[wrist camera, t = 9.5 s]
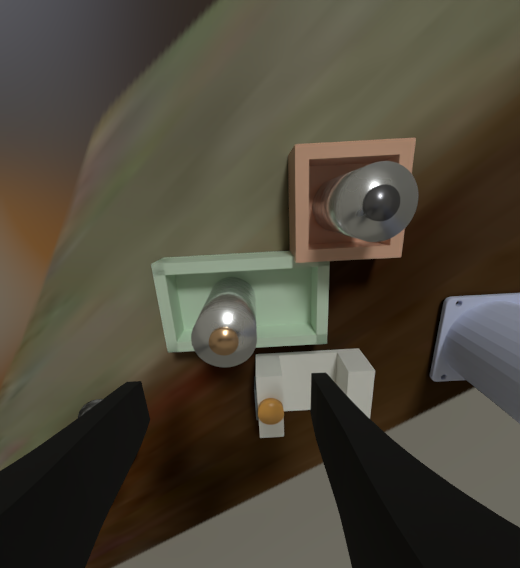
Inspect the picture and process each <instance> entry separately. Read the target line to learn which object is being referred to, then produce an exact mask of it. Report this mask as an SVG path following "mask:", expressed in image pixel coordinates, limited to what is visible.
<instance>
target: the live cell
mask: <svg viewBox="0 0 520 568" xmlns="http://www.w3.org/2000/svg"><path fill="white" fill-rule="evenodd" d="M191 342H192V346H193V349H194V350H195V352H196V354H197V355H198V356H199V357H200V358H201V359H202V360H203V361H205V362H207V363H209V364H211V365H213V366H217V367H233V366H236V365H239V364H241V363H243V362H245V361H246V360H247V359H248V358H249V357H250V356H251V355H252V354H253V352H254V350H255V348H256V344H257V326H256V297H255V292H254V290H253V288H252V287H251V285H250V284H249V283H247V282H246V281H244V280H243V279H240V278H236V277H228V278H224V279H222V280H220V281H218V282H217V283H216V284H215V285H214V286H213V288H212V290H211V292H210V294H209V296H208V298H207V300H206V302H205V304H204V306H203V308H202V310H201V312H200V315H199V317H198V319H197V321H196V323H195V325H194V327H193V330H192V333H191Z"/></svg>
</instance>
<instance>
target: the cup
mask: <svg viewBox="0 0 520 568" xmlns="http://www.w3.org/2000/svg"><path fill="white" fill-rule="evenodd" d="M415 142H416V138H401V139H382V140H364V141H346V142H328V143H309V144H295V145H294V147H293V148H292V150H291V152H290V153H289V155H288V180H289V244H290V252H291V253H292V254H293V255H294V261H295V262H296V263H305V262H323V261H341V260H359V259H377V258H395V257H401V254H402V246H403V238H404V230H405V228H404V229H403V230H402V231H401V232H400V233H399V234H397V235H396V236H394V237H392V238H390V239H388V240H385V241H381V242H368V241H364V240H360V239H357V238H353V237H350V236H347V235H343V234H340V233H336V232H333V231H329V230H326V229H324V228H323V227H321V226H320V225H319V224H318V223H317V221H316V220H315V218H314V215H313V210H312V204H313V199H314V196H315V194H316V192H317V190H318V189H319V188H320V187H321V186H322V185H323V184H324V183H325V182H327V181H329V180H331V179H333V178H336V177H339V176H341V175H344V174H346V173H349V172H351V171H354V170H356V169H359V168H361V167H364V166H367V165H369V164H372V163H375V162H379V161H392V162H396V163H399V164H400V165H402V166H404V167H405V168H407V169H408V170H409V171H410V172H411V174H412V166H413V158H414V150H415Z"/></svg>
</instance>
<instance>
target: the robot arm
mask: <svg viewBox="0 0 520 568" xmlns="http://www.w3.org/2000/svg"><path fill="white" fill-rule="evenodd" d="M457 301H458V303H457V304H456V302H457ZM430 378H431V379H432V380H433V381H435V382H440V381H458V380H467V381H468V382H469V383H470V384H472V385H473V386H474V387H475V388H477V389H478V390H479V391H480V392H481V393H483V394H484V395H485V396H486V397H488V398H489V399H490V400H492V401H493V402H494V403H495V404H496V405H497V406H499V407H500V408H501V409H502V410H504V411H505V412H506V413H508V414H509V415H510V416H511V417H512V418H513V419H515V420H516V421H517V422H518V423H520V293H507V294H489V295H471V296H453V297H448V298H446V299H445V300H444V302H443V307H442V313H441V318H440V323H439V328H438V334H437V339H436V344H435V350H434V355H433V360H432V366H431V371H430ZM310 412H311V417H312V422H313V427H314V432H315V436H316V440H317V443H318V446H319V450H320V453H321V456H322V459H323V462H324V465H325V469H326V472H327V475H328V478H329V481H330V484H331V487H332V490H333V494H334V497H335V500H336V503H337V507H338V511H339V514H340V518H341V522H342V526H343V530H344V534H345V538H346V543H347V547H348V552H349V556H350V560H351V564H352V568H520V528H519V527H518V526H516V525H514V524H512V523H511V522H509V521H507V520H506V519H504V518H502V517H501V516H499V515H498V514H496V513H494V512H493V511H491V510H490V509H488V508H487V507H485V506H484V505H482V504H480V503H479V502H477V501H476V500H474V499H473V498H471V497H469V496H468V495H466V494H465V493H464V492H462V491H461V490H459V489H458V488H456V487H455V486H453V485H452V484H450V483H449V482H447V481H446V480H445V479H443V478H442V477H440V476H439V475H438V474H436V473H435V472H433V471H432V470H431V469H429V468H428V467H427V466H425V465H424V464H423V463H421V462H420V461H419V460H417V459H416V458H415V457H413V456H412V455H411V454H410V453H408V452H407V451H406V450H405V449H403V448H402V447H401V446H400V445H398V444H397V443H396V442H395V441H394V440H392V439H391V438H390V437H389V436H388V435H387V434H386V433H384V432H383V431H382V430H381V429H380V428H379V427H378V426H377V425H376V424H375V423H374V422H372V421H371V420H370V419H369V418H368V417H367V416H366V415H365V414H364V413H363V412H362V411H361V410H360V409H359V408H358V407H357V406H356V405H355V404H354V403H353V402H352V401H351V400H350V398H349V397H348V396H347V395H346V394H345V393H344V392H343V391H342V390H341V389H340V388H339V386H338V385H337V384H336V383H335V382H334V381H333V380H332V379H331V377H330V376H329V375H328V374H327V373H326V372H325V373H311V411H310ZM149 421H150V417H149V413H148V409H147V404H146V400H145V396H144V391H143V387H142V383H141V381H138V382H126V383H125V384H123V385H122V386H120V387H119V388H118V389H116V390H115V391H113V392H112V393H111V394H110V395H108V396H107V397H106V398H104V399H103V400H102V401H100V402H99V403H98V404H96V405H95V406H94V407H92V408H91V409H90V410H88V411H87V412H86V413H84V414H83V415H82V416H80V417H79V418H78V419H76V420H75V421H74V422H72V423H71V424H70V425H68V426H67V427H65V428H64V429H63V430H61V431H60V432H58V433H57V434H56V435H54V436H53V437H51V438H50V439H49V440H47V441H46V442H44V443H43V444H41V445H40V446H39V447H37V448H36V449H34V450H33V451H31V452H30V453H28V454H27V455H25V456H23V457H22V458H20V459H19V460H17V461H16V462H14V463H12V464H11V465H9V466H8V467H6V468H5V469H3V470H1V471H0V568H85V566H86V564H87V561H88V559H89V556H90V554H91V551H92V549H93V546H94V544H95V541H96V539H97V536H98V534H99V531H100V529H101V527H102V525H103V522H104V520H105V518H106V516H107V514H108V512H109V510H110V508H111V506H112V504H113V501H114V499H115V497H116V495H117V493H118V491H119V489H120V487H121V485H122V483H123V481H124V479H125V477H126V475H127V473H128V471H129V469H130V467H131V465H132V463H133V461H134V459H135V457H136V455H137V453H138V450H139V448H140V446H141V444H142V441H143V438H144V436H145V433H146V430H147V427H148V424H149Z"/></svg>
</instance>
